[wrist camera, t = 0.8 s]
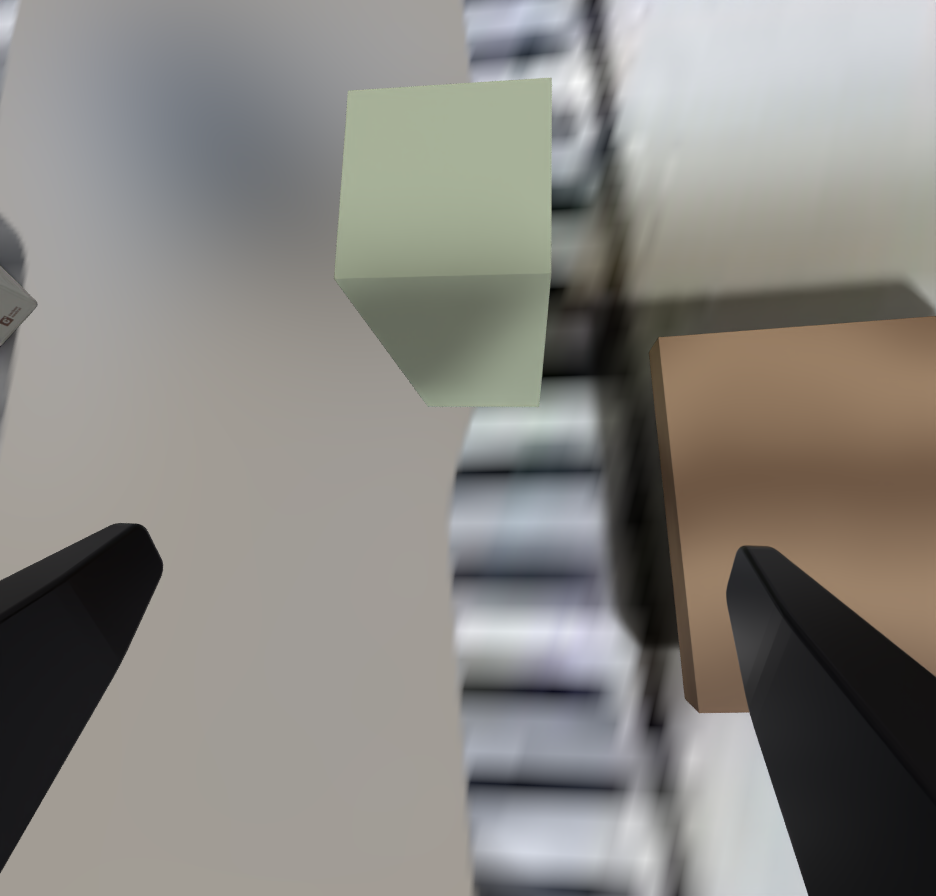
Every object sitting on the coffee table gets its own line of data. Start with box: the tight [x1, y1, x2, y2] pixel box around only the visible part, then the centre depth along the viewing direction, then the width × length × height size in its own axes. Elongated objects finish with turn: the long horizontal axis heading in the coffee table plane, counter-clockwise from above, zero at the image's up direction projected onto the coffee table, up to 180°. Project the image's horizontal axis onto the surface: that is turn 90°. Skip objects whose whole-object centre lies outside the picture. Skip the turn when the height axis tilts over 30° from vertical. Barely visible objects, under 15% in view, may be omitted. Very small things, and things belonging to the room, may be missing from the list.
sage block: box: [334, 78, 552, 407], centre depth 17 cm, size 4×4×11 cm
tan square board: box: [649, 316, 936, 713], centre depth 18 cm, size 12×12×3 cm
